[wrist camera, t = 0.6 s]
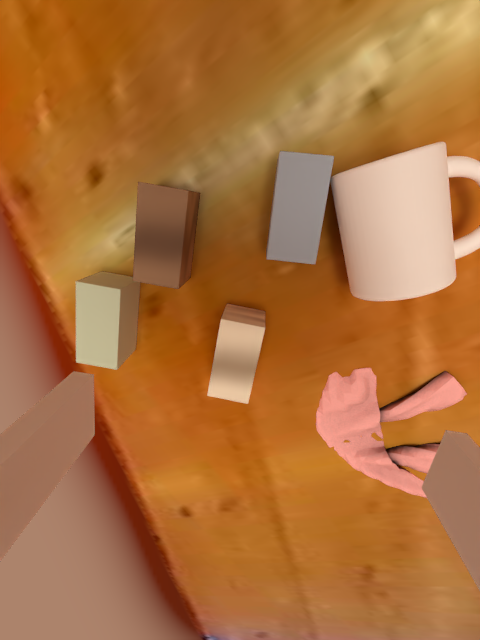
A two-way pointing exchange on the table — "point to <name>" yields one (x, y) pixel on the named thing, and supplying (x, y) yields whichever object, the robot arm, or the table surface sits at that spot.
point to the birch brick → (237, 353)
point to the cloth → (364, 418)
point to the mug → (402, 223)
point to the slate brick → (298, 206)
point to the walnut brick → (164, 235)
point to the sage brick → (106, 319)
